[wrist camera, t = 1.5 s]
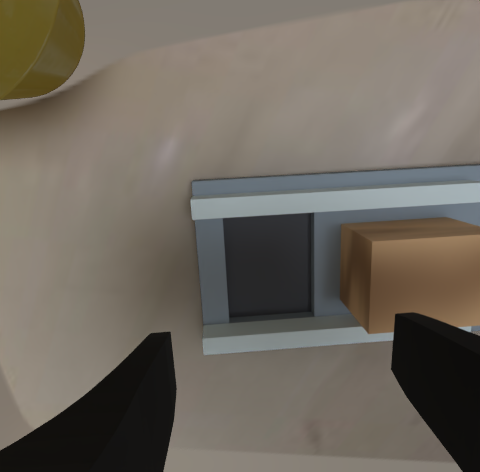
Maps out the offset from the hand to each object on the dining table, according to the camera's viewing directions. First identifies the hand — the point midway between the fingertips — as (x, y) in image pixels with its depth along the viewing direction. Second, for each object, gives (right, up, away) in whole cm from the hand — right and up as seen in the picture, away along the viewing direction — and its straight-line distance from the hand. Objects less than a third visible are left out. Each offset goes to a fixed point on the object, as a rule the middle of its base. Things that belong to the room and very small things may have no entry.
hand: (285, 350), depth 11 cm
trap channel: (+9, +3, +10) cm, 13 cm away
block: (+7, +2, +9) cm, 12 cm away
